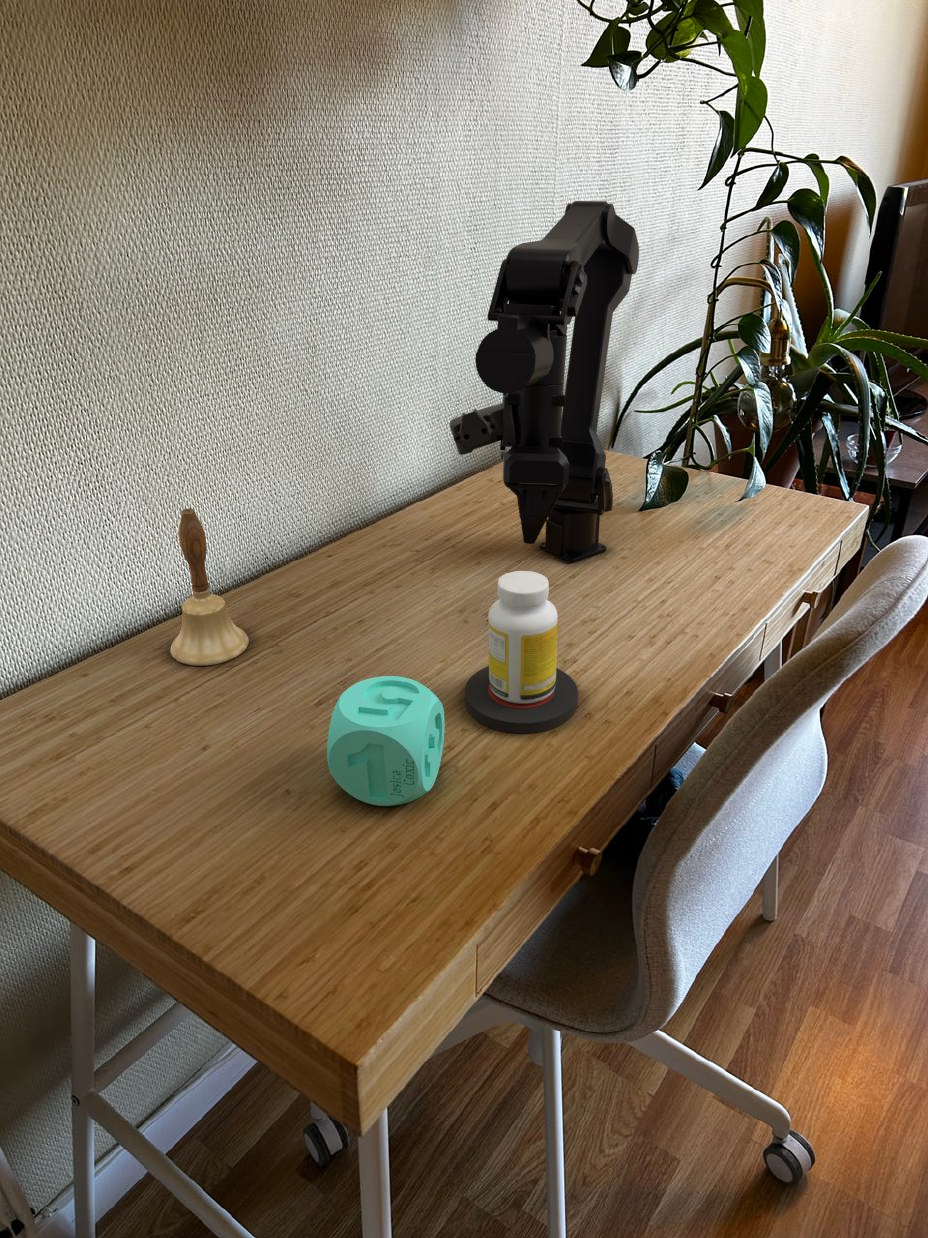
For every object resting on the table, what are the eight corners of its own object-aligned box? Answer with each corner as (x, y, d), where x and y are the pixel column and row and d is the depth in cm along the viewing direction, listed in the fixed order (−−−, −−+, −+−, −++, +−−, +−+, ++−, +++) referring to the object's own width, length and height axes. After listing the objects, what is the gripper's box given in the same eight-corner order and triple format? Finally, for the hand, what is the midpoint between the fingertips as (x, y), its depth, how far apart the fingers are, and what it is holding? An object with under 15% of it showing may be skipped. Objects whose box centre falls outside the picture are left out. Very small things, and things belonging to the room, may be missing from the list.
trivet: (529, 659, 96) (529, 648, 95) (601, 706, 88) (602, 695, 87) (443, 694, 90) (442, 683, 90) (511, 748, 83) (511, 736, 82)
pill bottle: (568, 684, 89) (573, 577, 84) (531, 715, 85) (533, 604, 79) (513, 663, 93) (514, 560, 87) (475, 692, 88) (473, 585, 83)
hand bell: (263, 634, 102) (243, 499, 94) (222, 671, 95) (198, 530, 87) (199, 623, 104) (175, 491, 96) (154, 659, 97) (125, 520, 90)
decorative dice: (330, 800, 77) (322, 722, 73) (361, 744, 83) (354, 670, 80) (422, 813, 75) (418, 734, 71) (446, 755, 82) (443, 680, 78)
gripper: (457, 368, 101) (453, 506, 106) (453, 391, 83) (449, 554, 89) (558, 371, 101) (549, 509, 106) (575, 395, 83) (563, 558, 89)
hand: (526, 531), depth 98 cm, fingers open, 9 cm apart
